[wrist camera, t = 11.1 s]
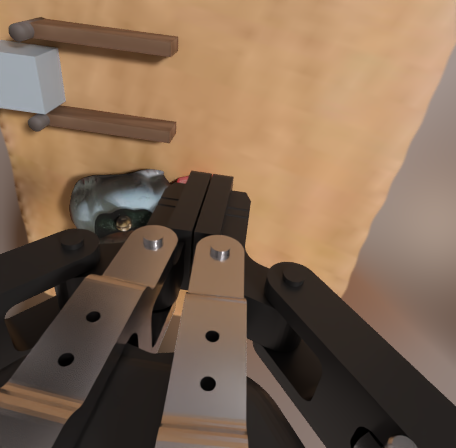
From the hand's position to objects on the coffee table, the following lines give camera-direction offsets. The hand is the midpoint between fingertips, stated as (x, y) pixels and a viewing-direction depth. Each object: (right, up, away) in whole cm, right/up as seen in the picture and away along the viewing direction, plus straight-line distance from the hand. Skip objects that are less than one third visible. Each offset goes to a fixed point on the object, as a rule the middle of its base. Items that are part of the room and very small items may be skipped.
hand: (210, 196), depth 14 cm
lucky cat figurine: (-11, +2, +40) cm, 42 cm away
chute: (-13, +16, +30) cm, 36 cm away
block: (-22, +17, +31) cm, 42 cm away
